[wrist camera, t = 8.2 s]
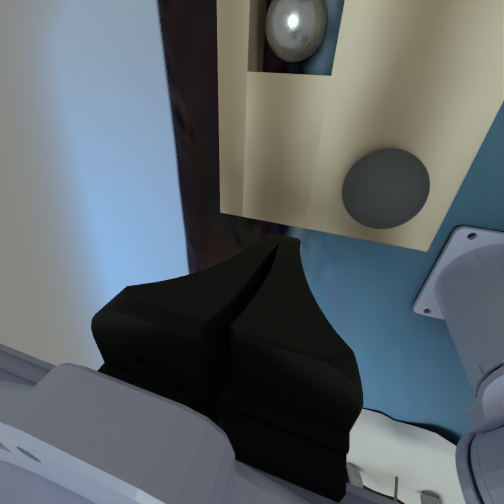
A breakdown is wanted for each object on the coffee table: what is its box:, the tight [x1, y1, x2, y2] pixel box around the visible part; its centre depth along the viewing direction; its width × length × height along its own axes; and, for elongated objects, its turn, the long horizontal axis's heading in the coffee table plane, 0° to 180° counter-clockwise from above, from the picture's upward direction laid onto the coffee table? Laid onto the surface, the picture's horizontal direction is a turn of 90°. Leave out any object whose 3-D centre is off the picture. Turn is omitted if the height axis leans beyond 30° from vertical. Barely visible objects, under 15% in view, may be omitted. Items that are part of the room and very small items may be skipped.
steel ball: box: [265, 0, 327, 62], centre depth 14 cm, size 3×3×3 cm
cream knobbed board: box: [217, 0, 504, 252], centre depth 13 cm, size 14×22×3 cm, turn 177°
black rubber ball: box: [342, 148, 430, 229], centre depth 13 cm, size 4×4×4 cm
